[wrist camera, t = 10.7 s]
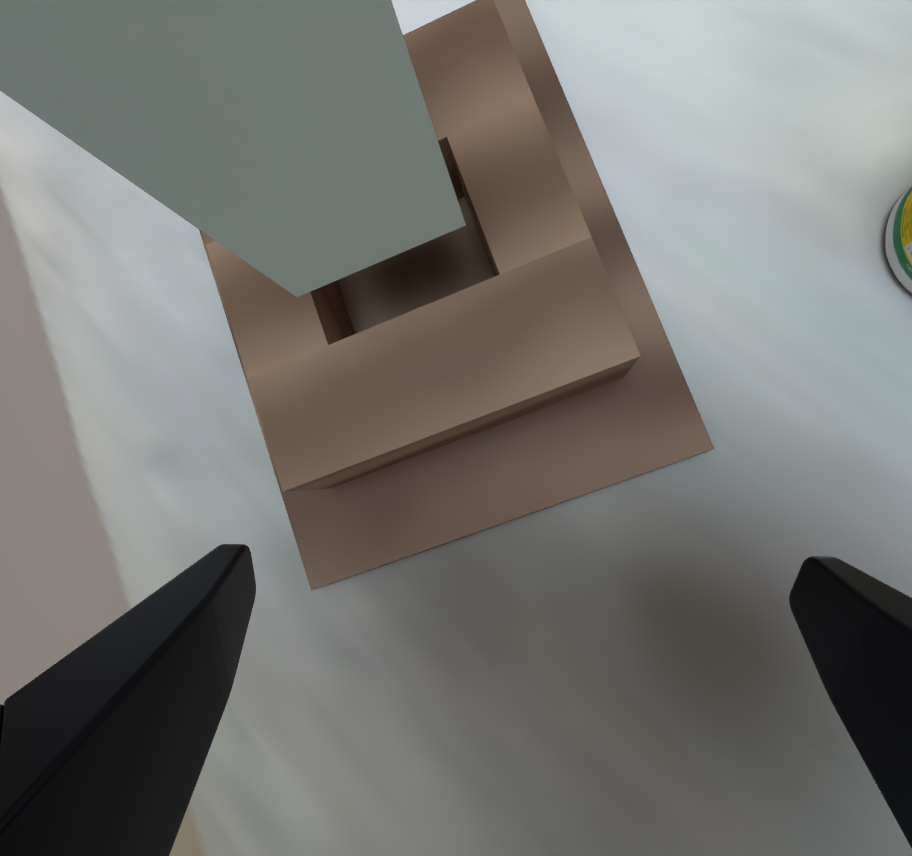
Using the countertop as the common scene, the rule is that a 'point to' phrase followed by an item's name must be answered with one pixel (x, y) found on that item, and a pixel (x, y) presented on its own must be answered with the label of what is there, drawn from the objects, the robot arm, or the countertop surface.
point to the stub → (246, 120)
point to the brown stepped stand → (466, 332)
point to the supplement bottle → (901, 239)
